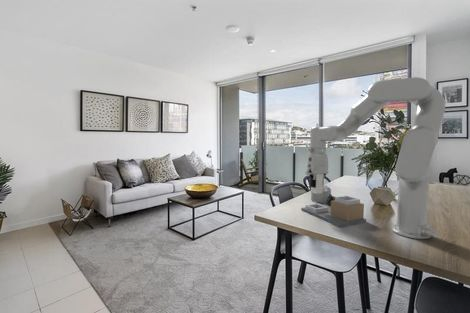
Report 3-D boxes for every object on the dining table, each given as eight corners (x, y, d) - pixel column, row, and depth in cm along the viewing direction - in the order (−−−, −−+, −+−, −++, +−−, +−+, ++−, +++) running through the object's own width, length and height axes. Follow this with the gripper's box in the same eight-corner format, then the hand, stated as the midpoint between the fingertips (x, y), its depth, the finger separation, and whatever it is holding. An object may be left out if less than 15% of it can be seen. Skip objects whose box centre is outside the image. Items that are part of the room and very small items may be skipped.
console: (366, 221, 108) (367, 200, 108) (340, 227, 102) (340, 204, 101) (324, 206, 132) (324, 189, 131) (301, 210, 126) (301, 191, 125)
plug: (322, 193, 121) (323, 173, 120) (316, 193, 119) (316, 174, 118) (315, 191, 125) (316, 172, 124) (309, 191, 124) (310, 172, 123)
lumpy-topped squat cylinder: (308, 200, 145) (309, 186, 144) (317, 196, 155) (317, 183, 154) (325, 203, 138) (326, 189, 137) (333, 199, 148) (334, 185, 147)
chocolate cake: (348, 212, 124) (345, 192, 132) (336, 208, 124) (333, 189, 131) (338, 219, 132) (335, 200, 139) (326, 216, 131) (324, 197, 139)
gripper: (309, 152, 113) (308, 189, 115) (336, 151, 120) (334, 186, 121) (299, 151, 120) (298, 186, 122) (325, 150, 127) (323, 184, 128)
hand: (316, 186), depth 121 cm, fingers closed on plug, 4 cm apart
